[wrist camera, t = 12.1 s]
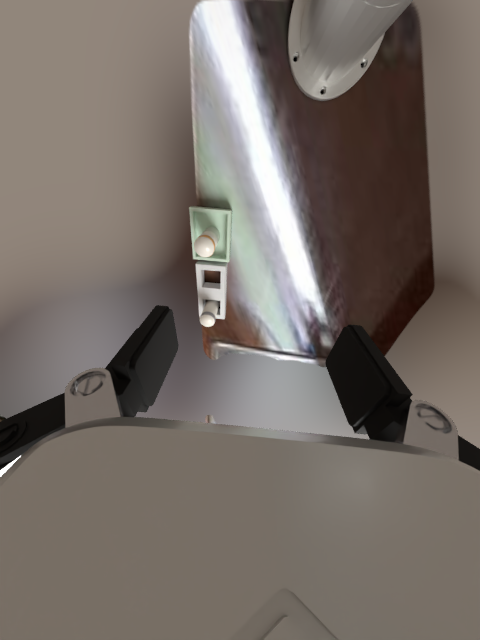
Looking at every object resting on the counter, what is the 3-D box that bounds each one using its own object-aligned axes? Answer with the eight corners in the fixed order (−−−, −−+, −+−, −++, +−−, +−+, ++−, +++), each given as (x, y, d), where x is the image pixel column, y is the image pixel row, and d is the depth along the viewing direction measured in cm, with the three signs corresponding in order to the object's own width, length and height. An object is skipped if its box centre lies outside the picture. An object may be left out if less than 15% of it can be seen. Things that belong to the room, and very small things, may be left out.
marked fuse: (203, 225, 40) (193, 235, 33) (220, 226, 40) (214, 237, 33) (204, 243, 42) (194, 256, 35) (220, 244, 42) (214, 258, 35)
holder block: (198, 259, 45) (195, 263, 42) (227, 262, 45) (225, 266, 42) (201, 310, 54) (199, 316, 51) (225, 313, 54) (224, 319, 51)
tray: (192, 205, 38) (189, 207, 36) (232, 209, 38) (230, 211, 36) (195, 255, 44) (193, 259, 42) (230, 258, 44) (228, 262, 42)
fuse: (206, 295, 51) (199, 313, 43) (220, 296, 51) (214, 315, 43) (207, 306, 53) (199, 326, 46) (220, 307, 53) (214, 327, 46)
